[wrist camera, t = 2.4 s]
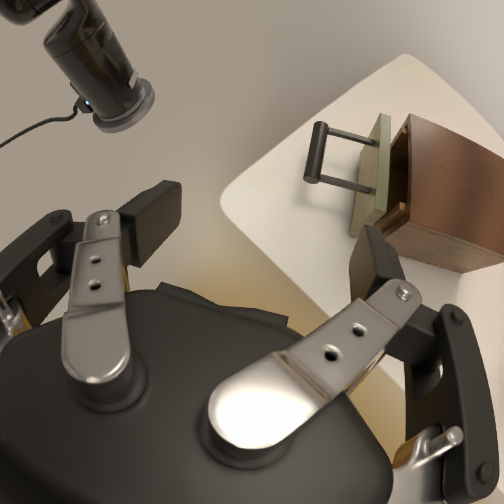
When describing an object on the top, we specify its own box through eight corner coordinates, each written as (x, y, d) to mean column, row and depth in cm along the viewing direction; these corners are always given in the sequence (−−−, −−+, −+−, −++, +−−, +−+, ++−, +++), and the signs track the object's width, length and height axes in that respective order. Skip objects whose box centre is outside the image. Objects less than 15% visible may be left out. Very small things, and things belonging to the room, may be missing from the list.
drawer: (293, 220, 33) (300, 189, 24) (310, 140, 35) (319, 96, 26) (443, 261, 30) (484, 245, 22) (445, 182, 32) (478, 153, 24)
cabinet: (370, 247, 32) (409, 221, 22) (380, 159, 35) (409, 112, 24) (462, 273, 31) (513, 259, 20) (464, 190, 33) (504, 159, 22)
